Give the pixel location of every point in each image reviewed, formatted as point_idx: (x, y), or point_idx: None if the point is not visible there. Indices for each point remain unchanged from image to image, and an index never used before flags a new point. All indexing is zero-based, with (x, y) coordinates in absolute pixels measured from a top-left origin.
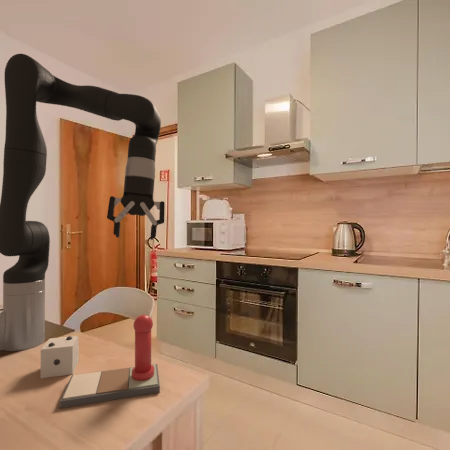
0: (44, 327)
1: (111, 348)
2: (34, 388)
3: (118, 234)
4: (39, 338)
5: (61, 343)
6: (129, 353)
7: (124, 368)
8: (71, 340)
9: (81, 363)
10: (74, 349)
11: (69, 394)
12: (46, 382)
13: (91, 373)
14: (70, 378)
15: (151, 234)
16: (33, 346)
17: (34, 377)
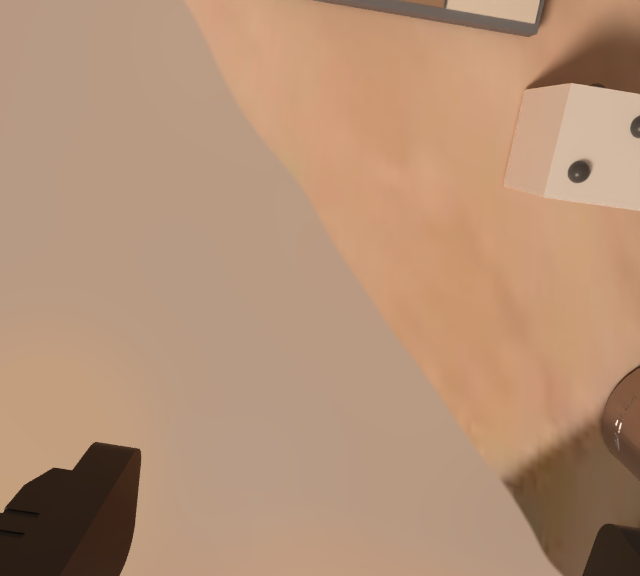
0: (632, 442)
1: (386, 260)
2: (628, 48)
3: (634, 542)
4: (631, 395)
5: (607, 134)
6: (328, 185)
7: (367, 3)
8: (571, 151)
9: (492, 171)
10: (550, 117)
11: None
12: (596, 74)
13: (479, 8)
14: (542, 9)
15: (97, 484)
16: (637, 371)
17: None
